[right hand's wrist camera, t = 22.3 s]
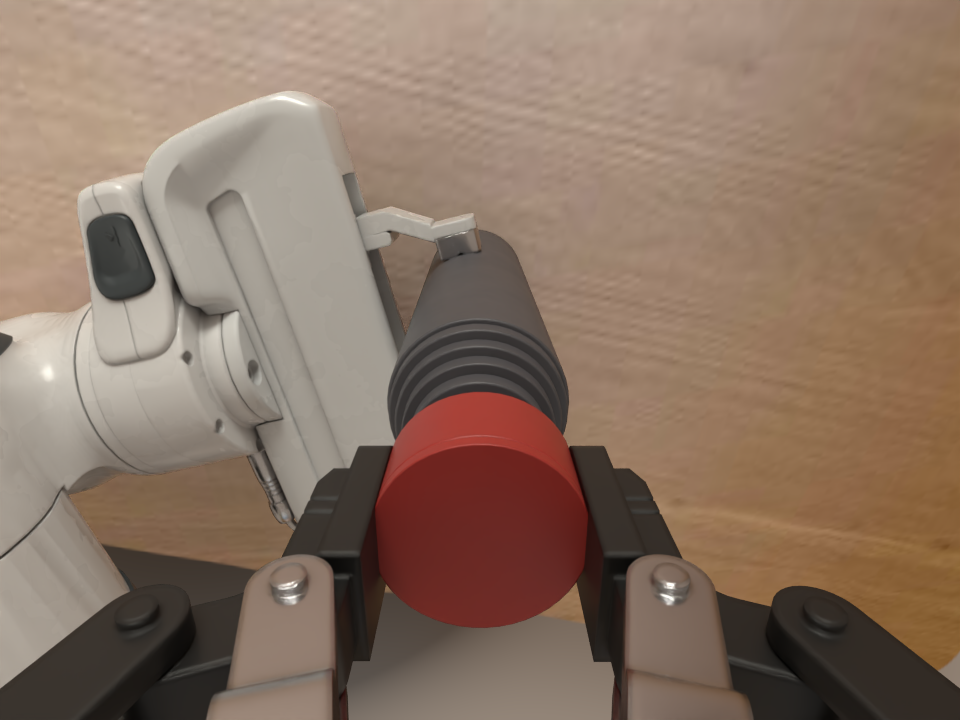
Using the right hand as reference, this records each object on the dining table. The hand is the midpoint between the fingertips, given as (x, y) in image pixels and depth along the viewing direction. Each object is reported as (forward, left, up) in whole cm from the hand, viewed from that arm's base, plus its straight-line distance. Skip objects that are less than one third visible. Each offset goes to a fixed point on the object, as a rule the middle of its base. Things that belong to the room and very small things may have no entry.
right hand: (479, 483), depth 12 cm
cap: (0, 0, +2) cm, 2 cm away
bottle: (0, 0, -20) cm, 20 cm away
